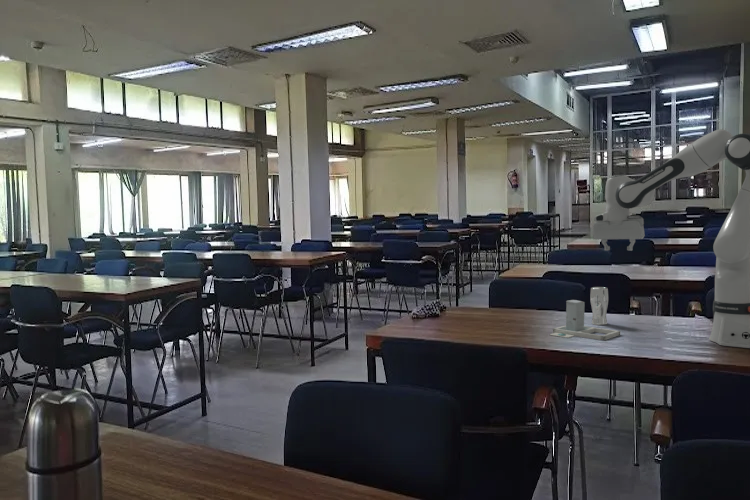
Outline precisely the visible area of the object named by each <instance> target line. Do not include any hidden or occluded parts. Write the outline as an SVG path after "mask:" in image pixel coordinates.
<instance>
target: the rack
mask: <svg viewBox="0 0 750 500" xmlns="http://www.w3.org/2000/svg"><path fill="white" fill-rule="evenodd" d="M594 333H595V334H594ZM596 333H599V334H596ZM549 336H553V337H559V338H567V339H570V338H573V337H578V338H585V339H591V340H592V339H593V340H599V341H606V340H609V339H612V338H615V337H618V336H621V330H617V329H616V330H614V329H608V328H603V327H602V328H600V327H592V326H586V325H584V330H582V331H578V332H576V331H569V330H566V324H565V325H561V326H558V327H554V328H552V333H550V334H549Z"/></svg>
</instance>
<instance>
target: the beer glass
mask: <svg viewBox="0 0 750 500" xmlns="http://www.w3.org/2000/svg"><path fill="white" fill-rule="evenodd" d="M589 295H590V305H591V311H592V320H591V324H592V325H595V326H608V320H607V310H608V305H609V289H608V287H604V286H593V287H590V294H589Z"/></svg>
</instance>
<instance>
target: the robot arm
mask: <svg viewBox="0 0 750 500" xmlns="http://www.w3.org/2000/svg"><path fill="white" fill-rule="evenodd" d="M724 160H728V161H729V162H730V163H732V164H733V165H734V166H736V167H738V168H740V169H741V170H742V171H744V172H745V178H744V180H743V183H742V185H741V187H740V189H739V191H738V193H737V195H736V198H735V200H734V201H733V204H732V206H731V207H730V211H729V212H728V214H727V216H726V218H725V220H724V222H723V223H722V226H721V228H720V230H719V232H718V234H717V236H716V237H715V239H714V242H713V246H712V247H713V248H712V249H713V250H712V251H713V253H714V255H715V257H716V258H715V259H716V260H715V272H714V299H713V302H712V316H713V322H712V329H711V332H710V335H709V338H708V340H709V341H711V342H714V343H717V345H720V346H725V347H734V348H744V349H750V133H746V132H745V133H738V134H736V135H733V134H731V133H730V132H729V131H728V130H726V129H720V128H718V129H716V130H713V131H710V132H709V133H706V134H705V135H703V136H701V137H699V138H698V139H696V140H694V141H692V142H691V143H690V144H688V145H687V146H685V147H684V148H683V149H681V150H679V152H678V153H676V154H675V155H674V156H672V157H671V158H669V160H667V161H665V162H664V163H663V164H661V165H660V166H658V167H656V168H654V169H652V170H651V171H649V172H648V173H646V174H645V175H643V176H641V177H639V178H637V179H633V178H631V177H629V176H628V175H626V174H619V175H614V176H611V177H609V178H607V180H606V181H605V188H604V189H605V191H604V193H605V194H604V198H605V199H604V200H605V202H606V205H605V212H602V213H600V214H597V215H595V216H594V217H593V221H594V223H593V225H592V238H593V239H594V240H601V243H602V245H603V246H604V247H603V248H604V249H603V250H604V251H607V252H608V251H610V250H611V246H610V245H608V244H607V242H608V240H629V245H628V246H626V251H627V252H628V251H631V252H632V251H633V248H634V245H635V243H636V240H643V239H644V238H645V236H646V235H645V228H644V224H645V221H644V220H645V219H644V218H643V217H642V216H640V215H630V209H633V208H644V207H646V206H649V205H650V204H652V202H653V201H654V200H655V197H656V193H655V191H656V189H658V188H660V187H661V186H663V185H665V184H667V183H668V182H670V181H674V180H677V179H683V178H689V177H693V176H697V175H699V174H701V173H704V172H706V171H708V170H709V169H711V168H713V166H715V165H717V164H719V163H720V162H723V161H724Z"/></svg>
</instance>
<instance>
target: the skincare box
mask: <svg viewBox="0 0 750 500" xmlns="http://www.w3.org/2000/svg"><path fill="white" fill-rule="evenodd" d="M585 303H586V302H585V301H582V300H577V299H570V300H566V305H565V306H566V309H565V313H566V316H565V318H566V319H565V325H566V330H569V331H576V332H578V331H582V330H584V326H585V307H586V306H585Z"/></svg>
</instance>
